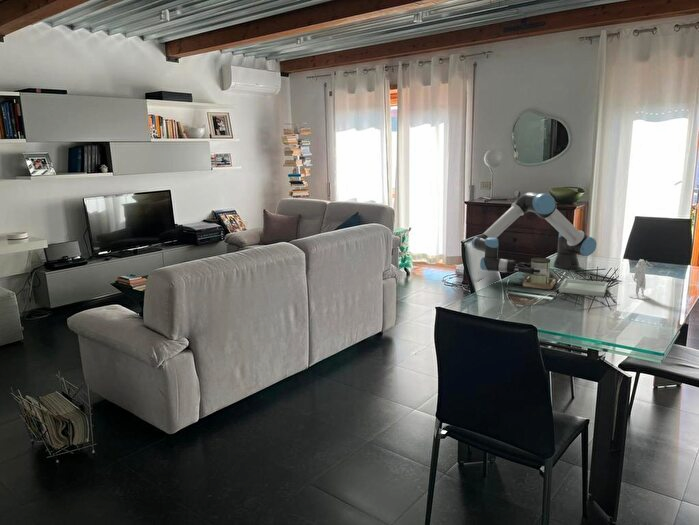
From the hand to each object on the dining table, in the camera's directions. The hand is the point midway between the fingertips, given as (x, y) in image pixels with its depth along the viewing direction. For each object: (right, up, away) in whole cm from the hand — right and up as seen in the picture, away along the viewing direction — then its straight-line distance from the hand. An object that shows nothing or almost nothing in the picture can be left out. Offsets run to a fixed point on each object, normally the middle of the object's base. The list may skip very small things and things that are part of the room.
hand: (548, 269), depth 295 cm
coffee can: (-4, -8, +4) cm, 10 cm away
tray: (+16, -11, -7) cm, 21 cm away
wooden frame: (-4, -9, +4) cm, 10 cm away
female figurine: (+36, -14, -25) cm, 46 cm away
